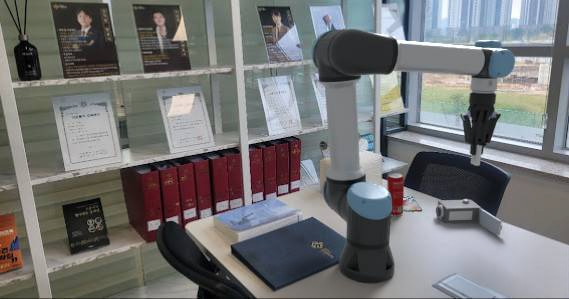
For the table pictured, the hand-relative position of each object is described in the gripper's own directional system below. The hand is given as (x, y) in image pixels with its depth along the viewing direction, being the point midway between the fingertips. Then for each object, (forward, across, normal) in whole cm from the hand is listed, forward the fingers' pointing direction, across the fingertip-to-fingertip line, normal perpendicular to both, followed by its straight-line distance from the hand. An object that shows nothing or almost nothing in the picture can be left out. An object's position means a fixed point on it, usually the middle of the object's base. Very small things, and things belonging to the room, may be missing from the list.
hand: (475, 164), depth 139 cm
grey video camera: (+22, +1, +7) cm, 23 cm away
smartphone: (+23, -10, +24) cm, 34 cm away
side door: (+22, +6, -3) cm, 23 cm away
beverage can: (+22, -19, +16) cm, 34 cm away
